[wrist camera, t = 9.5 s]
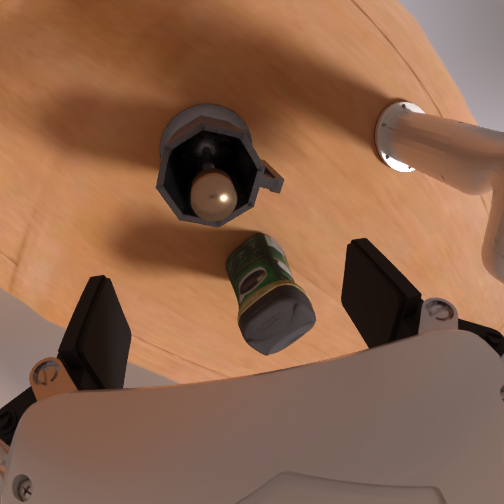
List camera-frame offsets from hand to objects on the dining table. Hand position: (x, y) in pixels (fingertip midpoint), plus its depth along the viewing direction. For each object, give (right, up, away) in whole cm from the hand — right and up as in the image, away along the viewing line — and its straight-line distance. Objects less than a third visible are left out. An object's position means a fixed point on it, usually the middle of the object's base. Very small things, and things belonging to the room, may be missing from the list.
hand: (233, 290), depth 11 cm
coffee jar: (+1, 0, +40) cm, 40 cm away
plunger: (-6, +16, +28) cm, 33 cm away
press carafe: (-6, +16, +29) cm, 34 cm away
